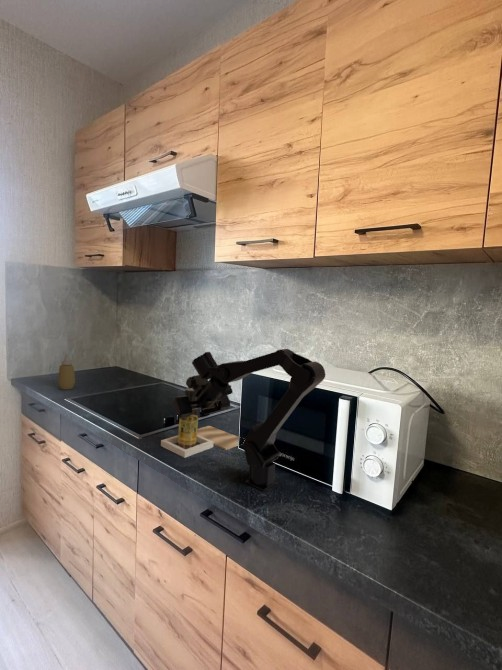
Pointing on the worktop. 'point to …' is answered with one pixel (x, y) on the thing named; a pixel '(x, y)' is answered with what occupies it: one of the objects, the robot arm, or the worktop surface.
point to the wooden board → (218, 437)
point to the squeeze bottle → (66, 374)
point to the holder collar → (184, 453)
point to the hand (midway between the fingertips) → (192, 415)
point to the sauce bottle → (188, 425)
